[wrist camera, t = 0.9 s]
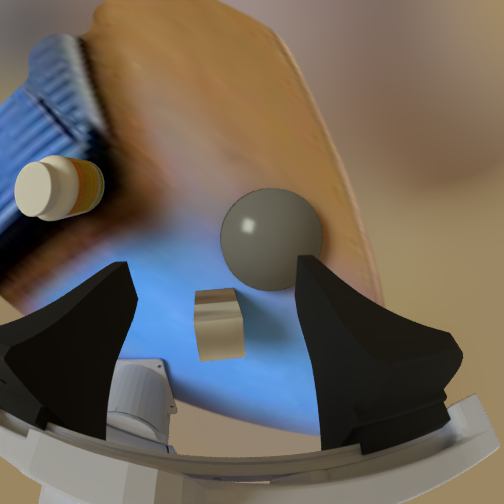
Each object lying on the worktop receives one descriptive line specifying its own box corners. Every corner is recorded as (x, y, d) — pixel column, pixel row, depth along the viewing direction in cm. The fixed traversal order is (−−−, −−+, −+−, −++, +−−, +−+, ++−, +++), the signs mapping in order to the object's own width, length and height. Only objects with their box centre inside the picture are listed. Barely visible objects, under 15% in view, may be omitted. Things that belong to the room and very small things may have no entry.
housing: (235, 321, 29) (245, 357, 23) (199, 324, 29) (200, 361, 22) (233, 287, 28) (242, 317, 22) (195, 291, 28) (193, 322, 21)
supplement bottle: (99, 153, 23) (52, 139, 13) (111, 202, 24) (67, 211, 15) (58, 172, 22) (3, 170, 13) (69, 219, 24) (17, 236, 14)
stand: (314, 278, 30) (321, 284, 28) (223, 288, 28) (225, 296, 26) (314, 187, 27) (321, 187, 25) (217, 191, 26) (218, 191, 24)
